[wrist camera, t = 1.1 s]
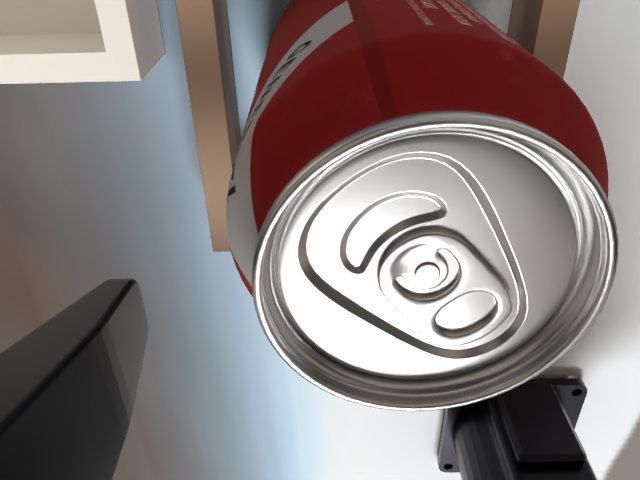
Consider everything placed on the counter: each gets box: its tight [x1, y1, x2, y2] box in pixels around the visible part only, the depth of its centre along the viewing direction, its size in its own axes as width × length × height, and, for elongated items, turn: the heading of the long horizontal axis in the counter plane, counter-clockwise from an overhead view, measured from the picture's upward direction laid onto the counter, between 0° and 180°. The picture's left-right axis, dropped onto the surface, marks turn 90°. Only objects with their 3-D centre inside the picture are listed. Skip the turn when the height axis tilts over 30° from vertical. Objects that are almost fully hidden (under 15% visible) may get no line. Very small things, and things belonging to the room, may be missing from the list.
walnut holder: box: [175, 0, 580, 252], centre depth 17 cm, size 11×11×2 cm
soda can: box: [226, 0, 618, 411], centre depth 13 cm, size 7×7×12 cm
